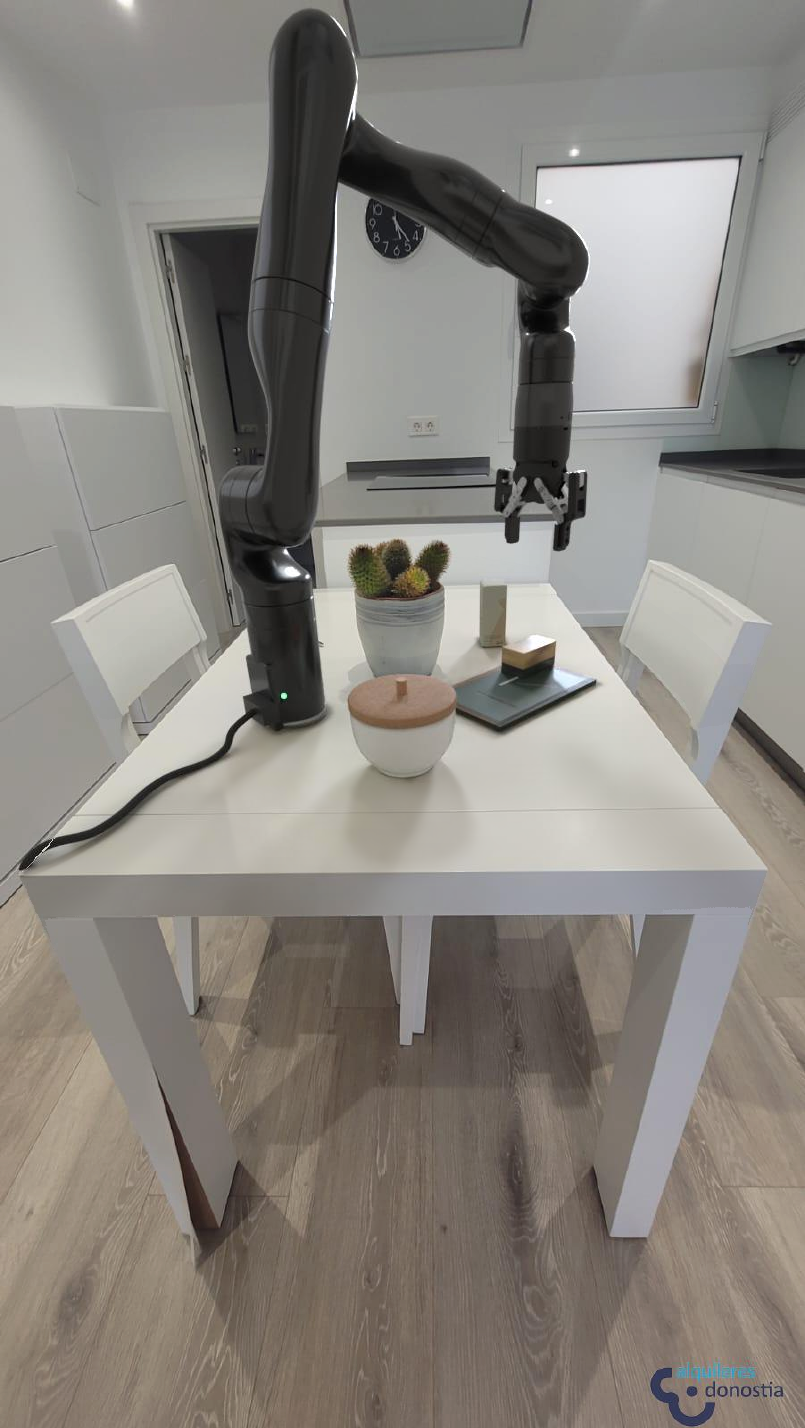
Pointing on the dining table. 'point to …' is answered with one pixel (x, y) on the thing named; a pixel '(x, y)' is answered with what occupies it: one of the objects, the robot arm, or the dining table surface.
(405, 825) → the dining table surface
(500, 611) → the box
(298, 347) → the robot arm
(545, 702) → the chalkboard
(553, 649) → the eraser
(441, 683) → the lidded bowl
